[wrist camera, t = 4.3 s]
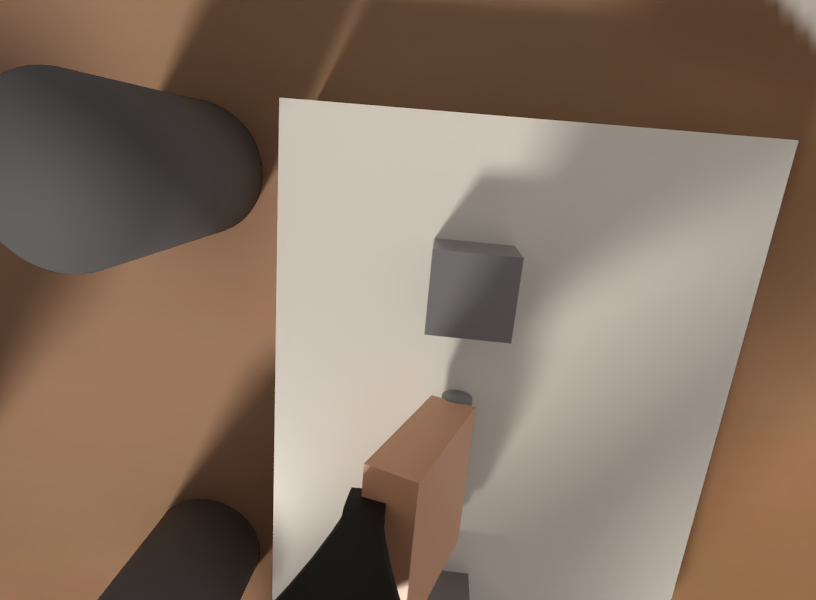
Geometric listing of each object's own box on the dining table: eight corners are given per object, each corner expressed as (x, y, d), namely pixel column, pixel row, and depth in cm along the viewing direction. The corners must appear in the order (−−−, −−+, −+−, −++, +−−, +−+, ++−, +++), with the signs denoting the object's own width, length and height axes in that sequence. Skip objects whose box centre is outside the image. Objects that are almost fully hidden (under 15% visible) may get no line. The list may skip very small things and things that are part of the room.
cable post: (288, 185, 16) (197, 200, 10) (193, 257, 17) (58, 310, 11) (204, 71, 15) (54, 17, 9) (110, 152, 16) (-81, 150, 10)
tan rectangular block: (483, 396, 14) (418, 483, 10) (466, 524, 15) (401, 646, 11) (441, 385, 14) (363, 463, 10) (427, 509, 15) (352, 622, 11)
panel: (729, 143, 15) (851, 137, 10) (608, 639, 19) (655, 781, 15) (311, 109, 15) (255, 88, 11) (296, 599, 20) (253, 724, 16)
